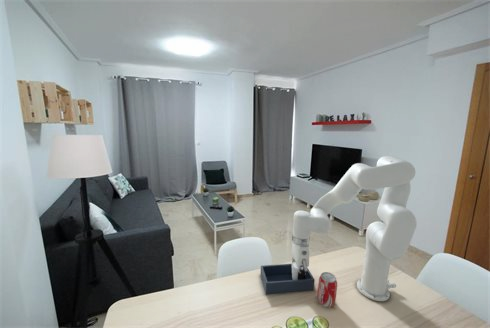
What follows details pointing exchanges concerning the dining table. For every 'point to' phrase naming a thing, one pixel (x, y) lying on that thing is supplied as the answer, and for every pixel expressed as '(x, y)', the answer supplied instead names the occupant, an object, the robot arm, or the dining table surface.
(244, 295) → the dining table surface
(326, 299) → the soda can
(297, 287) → the bin
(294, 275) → the white cylinder
